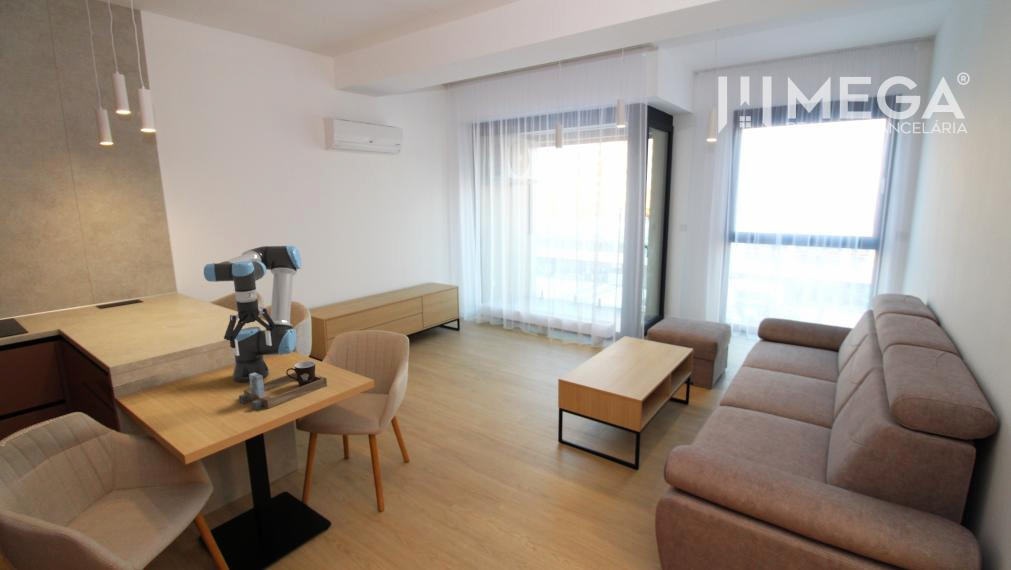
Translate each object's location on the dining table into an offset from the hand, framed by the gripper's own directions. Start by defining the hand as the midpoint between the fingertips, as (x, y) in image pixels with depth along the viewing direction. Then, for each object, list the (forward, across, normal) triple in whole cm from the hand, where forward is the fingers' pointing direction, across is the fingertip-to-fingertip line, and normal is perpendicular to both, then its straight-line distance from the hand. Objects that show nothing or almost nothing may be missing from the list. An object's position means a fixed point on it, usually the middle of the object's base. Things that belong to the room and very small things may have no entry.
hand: (253, 350), depth 196 cm
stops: (+22, -5, -2) cm, 23 cm away
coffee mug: (+23, +20, -2) cm, 30 cm away
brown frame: (+22, +11, -2) cm, 25 cm away
